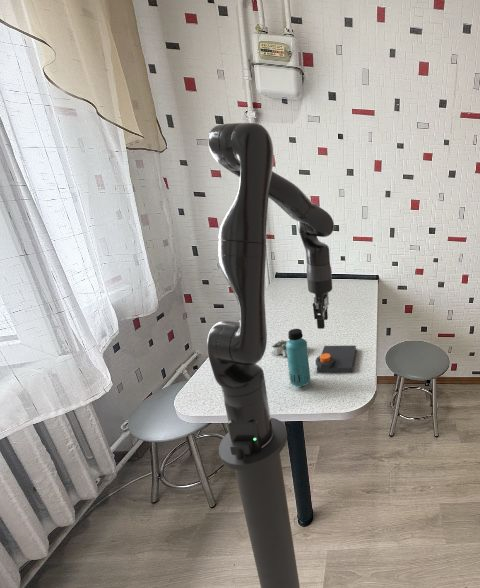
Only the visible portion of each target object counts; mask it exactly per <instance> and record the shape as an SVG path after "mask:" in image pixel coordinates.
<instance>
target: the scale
mask: <svg viewBox="0 0 480 588" xmlns="http://www.w3.org/2000/svg"><path fill="white" fill-rule="evenodd" d="M356 352H357V345H324V346H323V348H322V351H321V354H324V353H328V354H330V356H331V360H330V361H329V362H327V363H322V362H320V355H319V356H317V357H316V358H315V365H316V374H322V373H323V374H324V373H325V374H328V373H353V370H354V364H355V358H356V357H355V356H356Z"/></svg>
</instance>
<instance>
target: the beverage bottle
mask: <svg viewBox="0 0 480 588" xmlns="http://www.w3.org/2000/svg"><path fill="white" fill-rule="evenodd" d="M287 336H288V339H289V340H287V341H288V342H287V343H286V349H287V350H286V351H287V356H286V360H287V366H288V375H289V376H288V378H289V383H290V384H291V385H292V386H293V387H304V386H306V385H308V384H309V383H310V381H311V371H310V370H311V368H310V363H309V362H310V361H309V353H308V352H309V351H308V341H307V340H306V339H305V338H303V337H304V336H303V331H302V329H300V328H292V329H290V330H289V331H288V335H287Z"/></svg>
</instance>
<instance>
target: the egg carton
mask: <svg viewBox="0 0 480 588" xmlns="http://www.w3.org/2000/svg"><path fill="white" fill-rule="evenodd" d="M288 341H289V340H285V339H281V340H278V341H277V342H276V343H274V344H272V345H271V348H273V352H274V355H275V356H279V355H282V357H286V358H287V351H286V350H287V349H286V343H287V342H288Z"/></svg>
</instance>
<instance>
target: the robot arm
mask: <svg viewBox="0 0 480 588" xmlns="http://www.w3.org/2000/svg"><path fill="white" fill-rule="evenodd" d="M207 141H208V147H209V151H210V154H211V155H212V157H213V158H214V160H215V161H216V162H217V163H218V164H219V165H221V167H223V168H224V169H226V170H227V171H228V172H231V173H232V174H233V175H235V176H237V177H238V178H239V185H238V190H237V195H236V197H235V199H234V201H233V203H232V205H231V207H230V208H229V210H228V211H227V213H226V214H225V217H224V218H223V220H222V223H221V224H220V227H219V229H218V245H217V246H218V250H217V251H218V253H217V254H218V255H217V256H218V257H217V258H218V264H219V268H220V270H221V272H222V274H223V276H224V278H225V280H226V281H227V283H228V285H229V286H230V289H231V291H232V292H233V295H234V296H235V298H236V302H237V305H238V312H239V321H237V320H230V319H229V320H227V319H226V320H224V319H223V320H221V321H217V322H215V324H214V325H212V327H211V328H210V330H209V332H208V334H207V338H206V353H207V356H208V357H207V358H208V360H209V363H210V367H211V370H212V373H213V377H214V380H215V382H216V383H217V385H219V386H220V389H221V394H222V398H223V403H224V407H225V412H226V416H227V421H228V423H227V428H228V432H229V433H230V438H231V442H232V445H231V446H230V449H231V454H232V455H237V459H238V460H241V459H243V456H241V454H250V453H260V452H261V450H262V449H263V448H265V447H266V446H267V445H268V444H269V443H270V442H271V440H272V439H273V435H274V433H273V429H272V423H271V422H272V420H271V418H272V417H271V411H270V406H269V405H270V404H269V398H268V391H267V385H266V384H267V383H266V378H265V372H264V370H263V369H262V367H261V366H260V365H258V363H259V362H261V360H262V359H263V357H264V355H265V352H266V348H267V342H268V341H267V340H268V330H267V329H268V327H267V315H266V314H267V313H266V295H265V294H266V293H265V291H266V289H265V287H266V281H265V280H266V266H267V265H266V264H267V244H268V243H267V227H268V209H269V199H270V200H271V201H273V202H274V203H275V204H276V206H278V207H279V208H281V210H282V211H284V212H285V213H286V214H287V215H288V216H289V217H290V218H291V219H292V220H294V221H296V223H297V226H296V227H297V231H298V233H299V236H300V239H301V242H302V245H303V247H304V250H305V258H306V279H307V280H306V281H307V291H308V292H309V293H310V294H314V297H313V302H312V310H313V318H314V320H316V326H317V329H319V330H323V329H325V327H326V326H325V325H326V324H325V321H327V320H328V319H329V314H328V309H329V305H330V303H329V293H330V292H331V291H333V276H332V275H333V273H332V265H331V257H330V247H329V245H328V244H326V243H324V242H323V241H320V239H319V238H326V237H329V236H331V235H332V234H333V232H334V229H335V223H334V219H333V217H332V216H331V215H330V213H329V212H328V211H326V210H325V209H323V208H322V207H321V206H319V205H318V204H317V203H314V202H313V201H311V200H310V199H309V197H308V196H307V195H306V194H305V193H304V191H302V189H300V188H299V187H298V186H297V185H296V184H295V183H293V182H292V181H290V180H289V179H287V178H285V177H283V176H281V175H279V174H278V173H277V172H275V171H273V167H274V157H275V156H274V153H275V152H274V144H273V140H272V137H271V135H270V133H269V131H268V130H267V128H266V127H264V126H263V125H262V124H260V123H256V122H235V123H234V122H233V123H222V124H218V125H216V126H214V127H212V128H211V130H210V131H209V133H208V139H207Z"/></svg>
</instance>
